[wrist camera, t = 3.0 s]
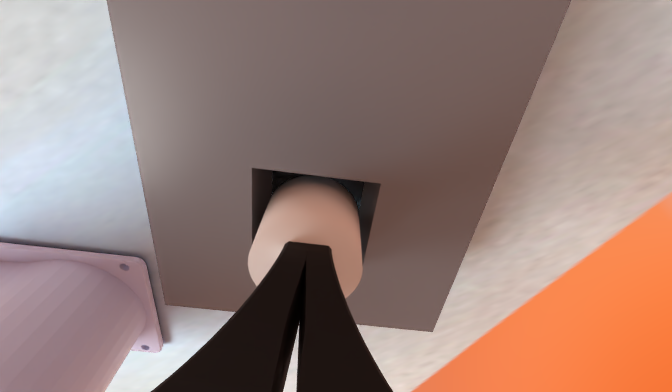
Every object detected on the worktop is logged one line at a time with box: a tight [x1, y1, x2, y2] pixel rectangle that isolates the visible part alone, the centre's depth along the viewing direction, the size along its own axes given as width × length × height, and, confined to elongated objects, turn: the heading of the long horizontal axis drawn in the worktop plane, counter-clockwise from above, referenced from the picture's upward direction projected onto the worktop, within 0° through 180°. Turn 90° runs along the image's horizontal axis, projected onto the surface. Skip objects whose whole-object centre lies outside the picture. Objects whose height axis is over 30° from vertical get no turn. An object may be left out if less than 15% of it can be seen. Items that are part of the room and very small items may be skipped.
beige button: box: [248, 175, 363, 298], centre depth 12 cm, size 4×4×3 cm
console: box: [107, 0, 571, 332], centre depth 11 cm, size 12×20×4 cm, turn 173°
